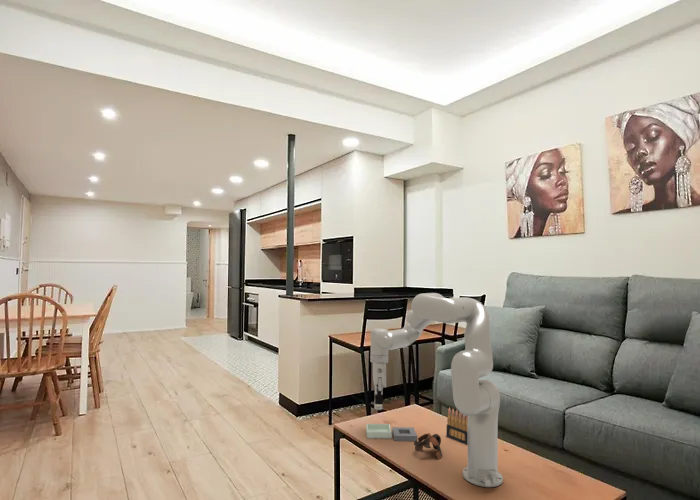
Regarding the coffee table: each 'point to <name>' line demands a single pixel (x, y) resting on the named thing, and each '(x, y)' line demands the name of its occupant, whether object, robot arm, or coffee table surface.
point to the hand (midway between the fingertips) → (378, 402)
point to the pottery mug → (426, 441)
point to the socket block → (404, 434)
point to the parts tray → (378, 431)
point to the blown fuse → (377, 406)
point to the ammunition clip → (457, 427)
